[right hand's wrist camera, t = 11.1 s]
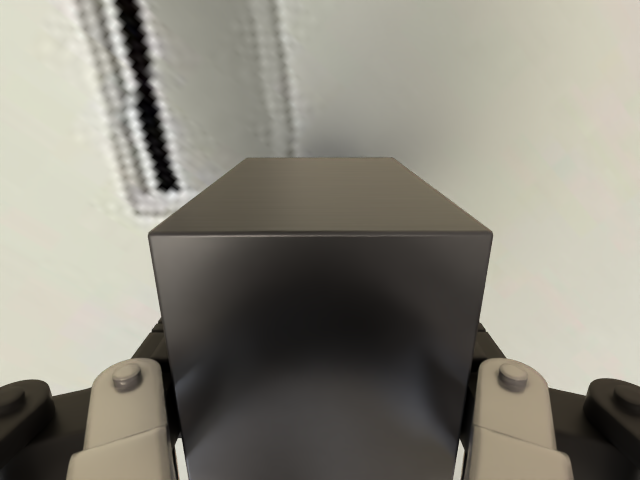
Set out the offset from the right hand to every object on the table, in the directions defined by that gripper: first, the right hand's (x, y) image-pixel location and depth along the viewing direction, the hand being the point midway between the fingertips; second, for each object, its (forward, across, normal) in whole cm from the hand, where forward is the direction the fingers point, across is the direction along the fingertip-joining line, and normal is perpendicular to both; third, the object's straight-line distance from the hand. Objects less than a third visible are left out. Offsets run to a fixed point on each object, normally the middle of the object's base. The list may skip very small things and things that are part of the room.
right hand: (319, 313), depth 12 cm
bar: (+5, 0, -9) cm, 10 cm away
